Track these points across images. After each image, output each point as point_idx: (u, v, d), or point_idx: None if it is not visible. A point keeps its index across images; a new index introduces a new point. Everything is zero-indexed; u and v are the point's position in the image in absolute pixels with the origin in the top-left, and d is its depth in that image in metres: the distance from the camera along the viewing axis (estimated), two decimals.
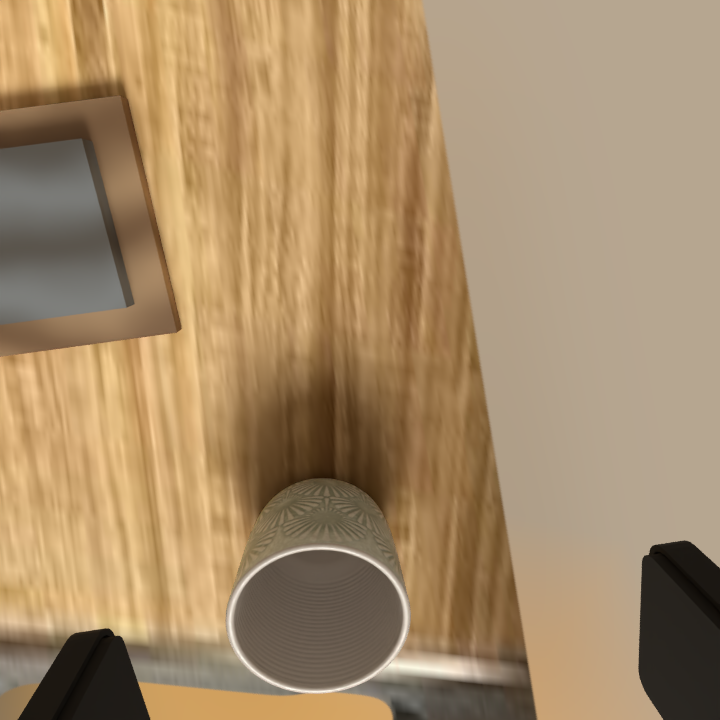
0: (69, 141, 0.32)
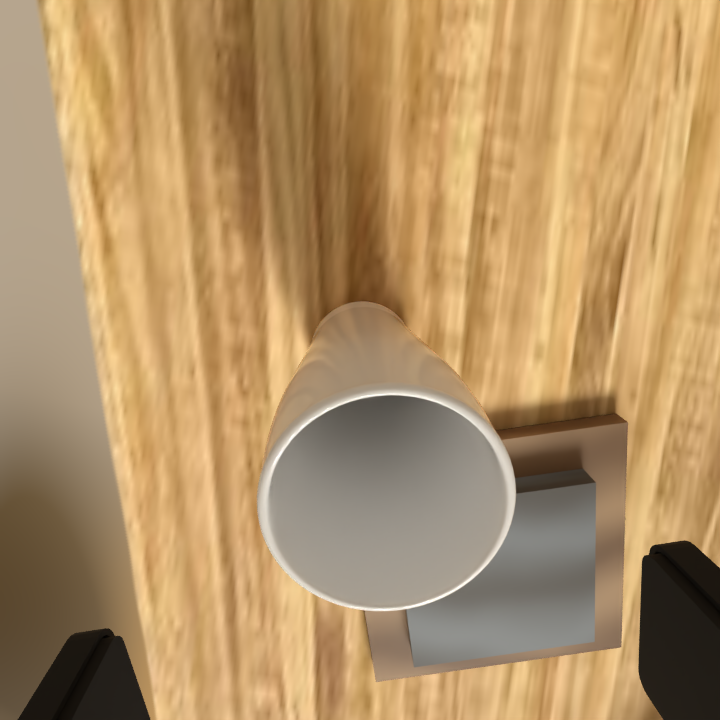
0: (581, 486, 0.27)
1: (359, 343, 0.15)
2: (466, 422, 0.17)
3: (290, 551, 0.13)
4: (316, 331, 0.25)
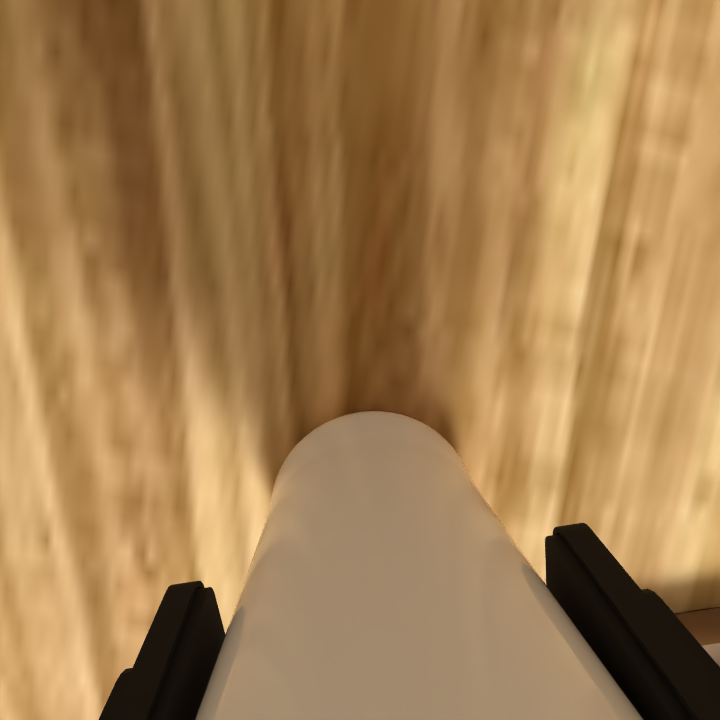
0: None
1: None
2: None
3: None
4: (279, 483, 0.12)
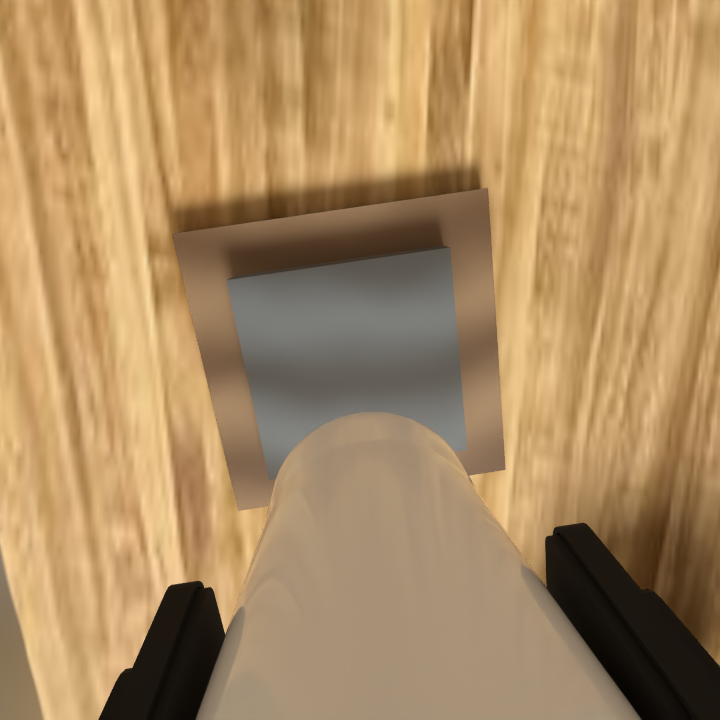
0: (434, 251, 0.24)
1: None
2: None
3: None
4: (278, 484, 0.12)
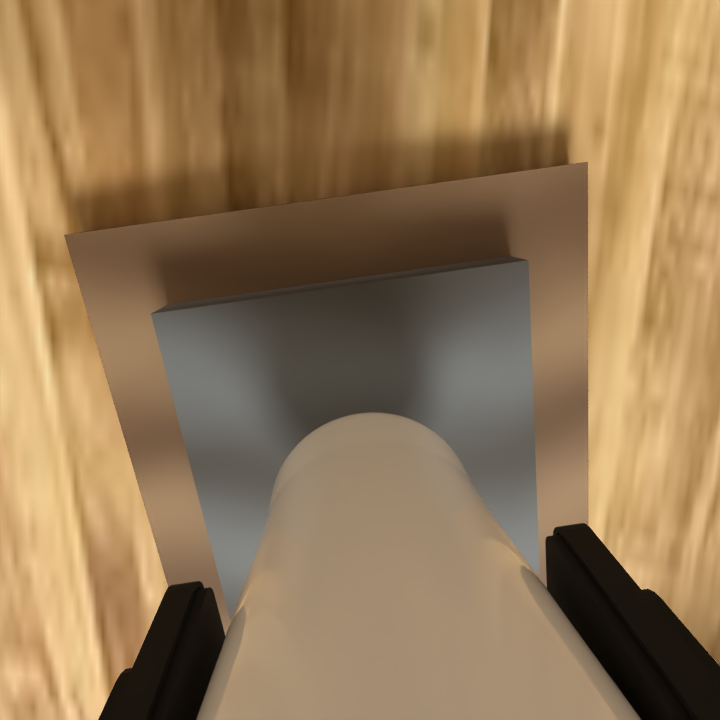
0: (502, 267, 0.14)
1: None
2: None
3: None
4: (278, 485, 0.12)
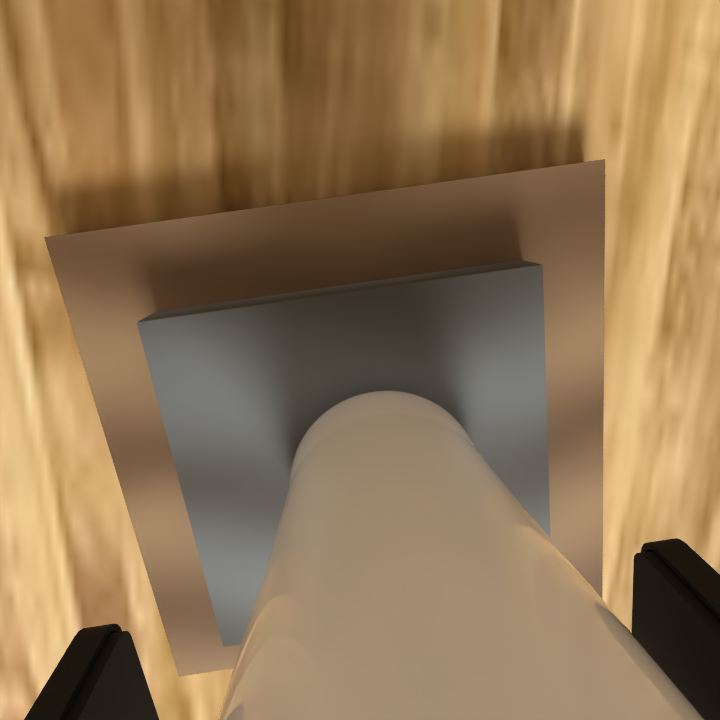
0: (514, 272, 0.13)
1: None
2: None
3: None
4: (299, 457, 0.13)
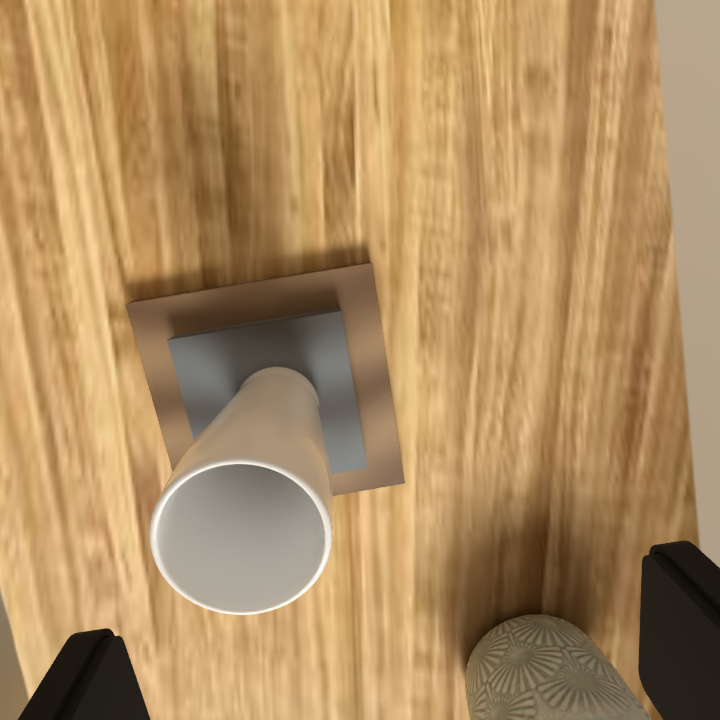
0: (328, 314, 0.31)
1: (234, 419, 0.21)
2: None
3: (178, 573, 0.19)
4: None
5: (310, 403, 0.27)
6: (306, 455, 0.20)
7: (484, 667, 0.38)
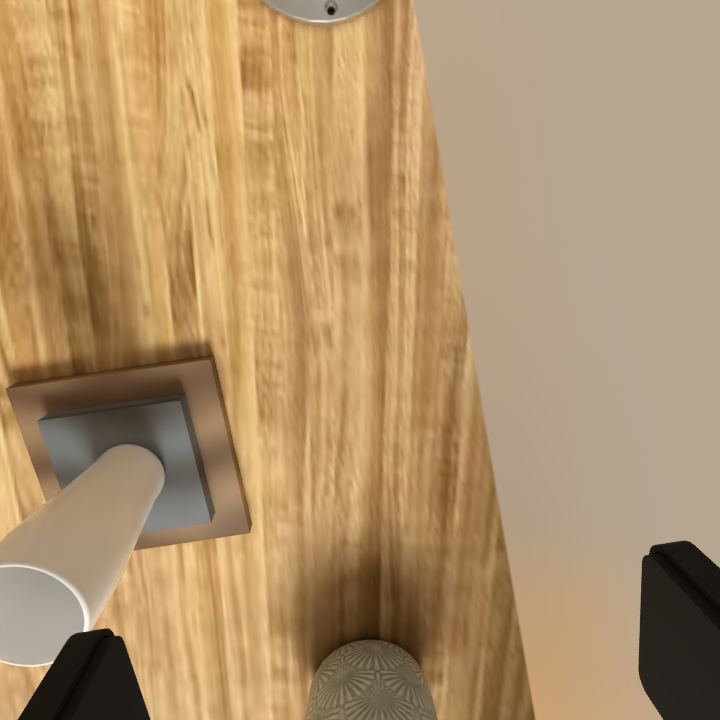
0: (170, 403, 0.38)
1: (38, 519, 0.28)
2: None
3: None
4: None
5: (135, 485, 0.34)
6: (81, 552, 0.27)
7: (317, 684, 0.45)
